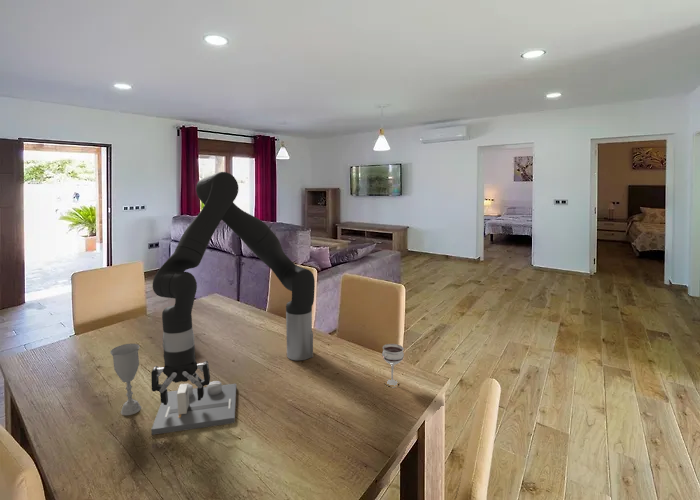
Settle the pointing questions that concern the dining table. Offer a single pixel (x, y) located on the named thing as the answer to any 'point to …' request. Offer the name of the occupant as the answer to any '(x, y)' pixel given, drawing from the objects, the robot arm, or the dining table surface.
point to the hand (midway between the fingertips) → (182, 401)
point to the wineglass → (392, 358)
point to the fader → (183, 399)
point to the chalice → (127, 372)
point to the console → (198, 409)
